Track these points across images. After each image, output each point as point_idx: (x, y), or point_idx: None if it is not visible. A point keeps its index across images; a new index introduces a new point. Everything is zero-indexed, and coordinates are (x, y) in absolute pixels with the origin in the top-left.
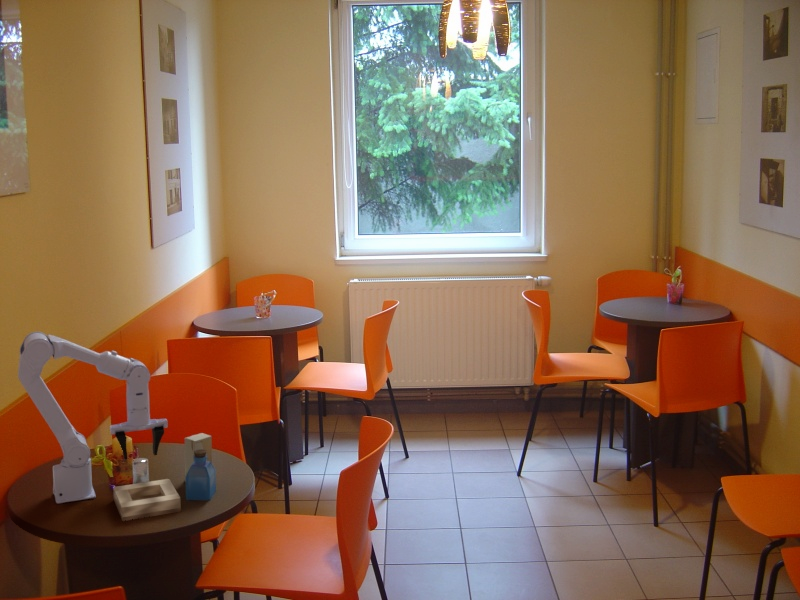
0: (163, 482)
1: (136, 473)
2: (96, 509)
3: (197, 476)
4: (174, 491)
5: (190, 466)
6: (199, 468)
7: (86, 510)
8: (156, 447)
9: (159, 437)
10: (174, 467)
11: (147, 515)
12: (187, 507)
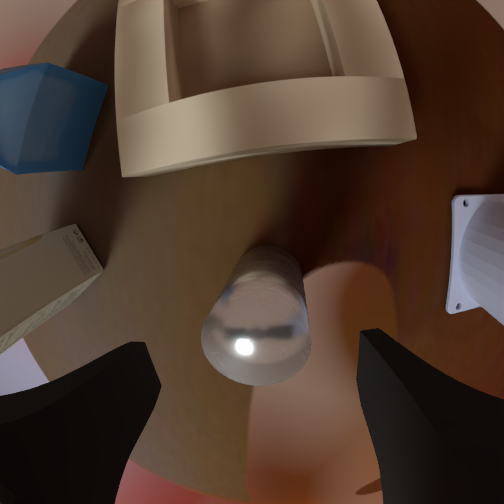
0: (148, 126)
1: (288, 276)
2: (441, 85)
3: (19, 66)
4: (122, 24)
5: (41, 258)
6: None
7: (467, 95)
8: (93, 367)
9: (8, 402)
10: None
11: None
12: None
